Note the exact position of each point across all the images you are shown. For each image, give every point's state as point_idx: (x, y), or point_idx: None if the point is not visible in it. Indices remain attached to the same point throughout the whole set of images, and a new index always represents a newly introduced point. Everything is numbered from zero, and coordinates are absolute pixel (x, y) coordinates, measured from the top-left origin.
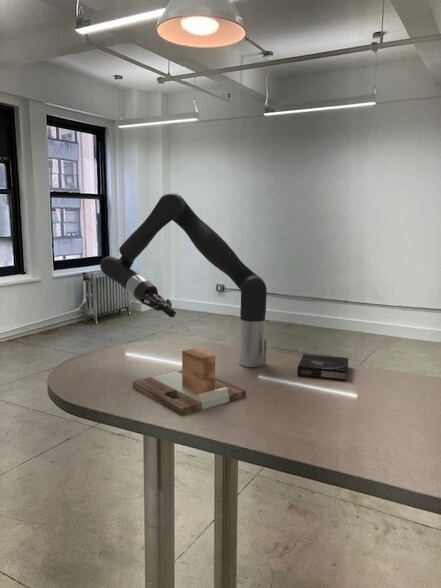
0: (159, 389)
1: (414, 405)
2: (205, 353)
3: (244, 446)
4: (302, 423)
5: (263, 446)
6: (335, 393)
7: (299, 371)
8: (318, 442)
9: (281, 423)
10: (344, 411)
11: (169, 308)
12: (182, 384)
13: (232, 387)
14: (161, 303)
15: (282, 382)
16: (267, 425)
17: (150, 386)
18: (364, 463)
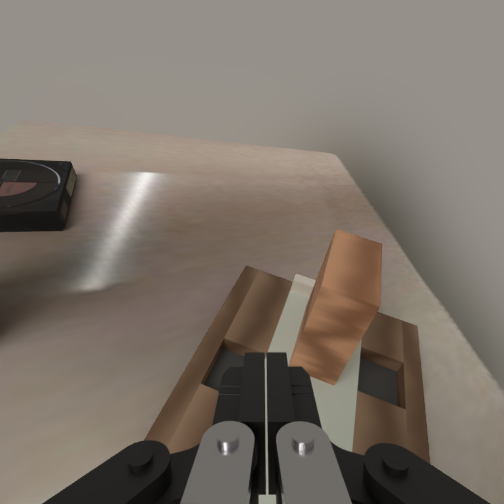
0: (396, 439)
1: (156, 142)
2: (343, 248)
3: (394, 240)
4: (287, 207)
5: (375, 227)
6: (149, 187)
7: (61, 218)
8: (321, 195)
9: (306, 222)
10: (217, 181)
11: (284, 389)
12: (338, 378)
13: (246, 290)
14: (346, 496)
15: (121, 244)
16: (325, 232)
17: None
18: (328, 174)
